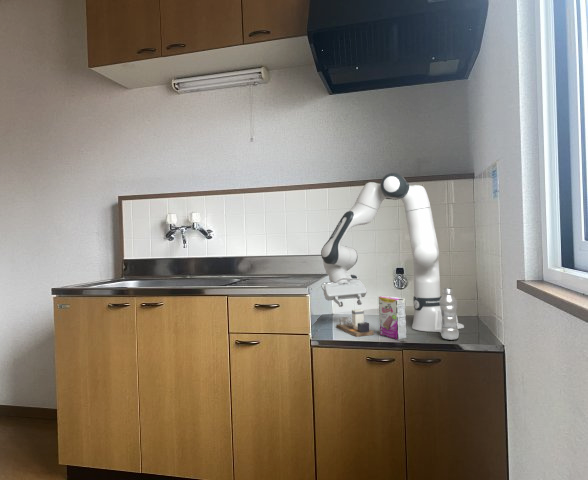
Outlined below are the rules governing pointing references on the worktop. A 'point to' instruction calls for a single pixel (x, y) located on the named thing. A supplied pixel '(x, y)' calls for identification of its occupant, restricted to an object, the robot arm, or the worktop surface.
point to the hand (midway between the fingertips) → (350, 305)
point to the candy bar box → (392, 317)
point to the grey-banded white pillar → (357, 317)
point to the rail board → (351, 330)
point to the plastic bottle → (448, 315)
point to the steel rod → (359, 326)
